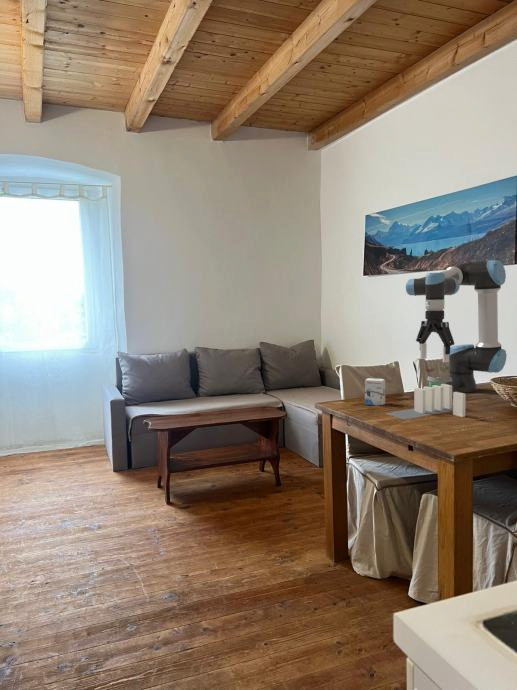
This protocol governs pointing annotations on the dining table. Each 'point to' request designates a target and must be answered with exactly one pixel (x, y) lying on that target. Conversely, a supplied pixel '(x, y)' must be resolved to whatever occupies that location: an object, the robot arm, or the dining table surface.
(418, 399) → the domino
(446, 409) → the mat
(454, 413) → the domino
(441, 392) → the domino
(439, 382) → the food container
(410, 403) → the dining table surface
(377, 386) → the ink box
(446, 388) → the domino
